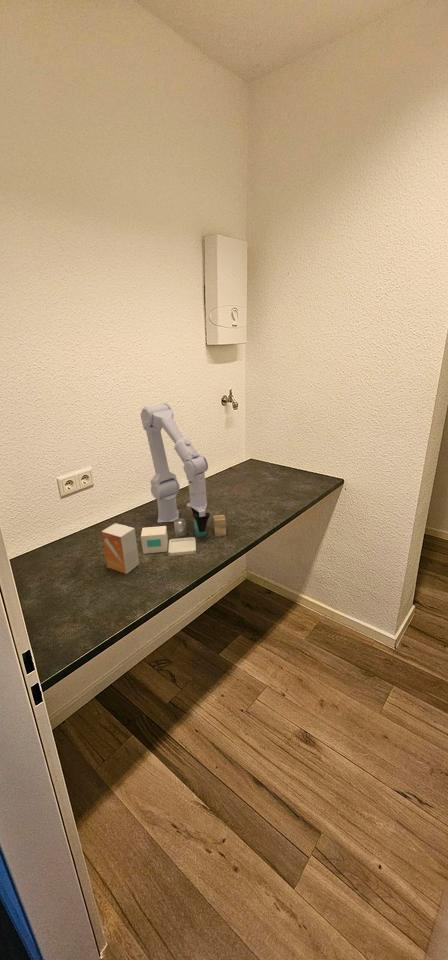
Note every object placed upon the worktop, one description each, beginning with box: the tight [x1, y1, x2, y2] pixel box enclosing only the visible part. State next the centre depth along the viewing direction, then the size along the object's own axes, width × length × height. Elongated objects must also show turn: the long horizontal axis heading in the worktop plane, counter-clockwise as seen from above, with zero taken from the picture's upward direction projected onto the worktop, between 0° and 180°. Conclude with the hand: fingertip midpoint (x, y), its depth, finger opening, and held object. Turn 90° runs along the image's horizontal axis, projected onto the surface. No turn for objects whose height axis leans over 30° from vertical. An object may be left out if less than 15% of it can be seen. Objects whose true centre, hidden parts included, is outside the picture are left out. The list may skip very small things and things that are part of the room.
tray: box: [167, 536, 197, 557], centre depth 133 cm, size 9×9×1 cm
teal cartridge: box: [193, 518, 207, 538], centre depth 140 cm, size 4×4×6 cm
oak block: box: [212, 514, 227, 537], centre depth 141 cm, size 4×4×6 cm
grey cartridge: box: [173, 517, 187, 539], centre depth 140 cm, size 4×4×6 cm
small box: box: [100, 522, 140, 575], centre depth 122 cm, size 8×6×13 cm
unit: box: [140, 525, 169, 554], centre depth 133 cm, size 7×8×6 cm
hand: (200, 526), depth 140 cm, fingers open, 7 cm apart
